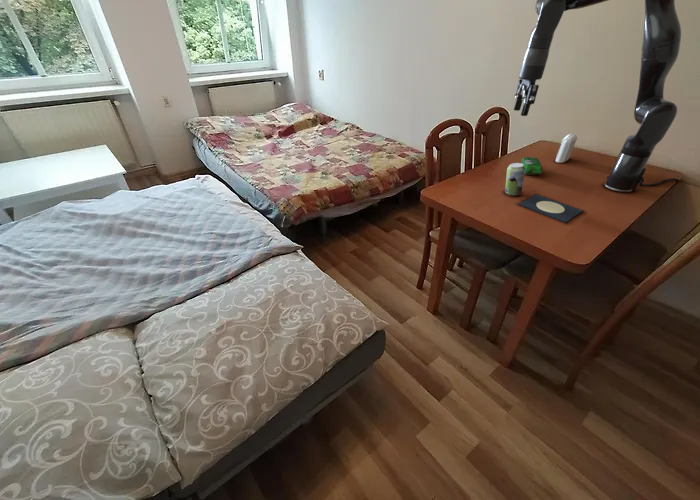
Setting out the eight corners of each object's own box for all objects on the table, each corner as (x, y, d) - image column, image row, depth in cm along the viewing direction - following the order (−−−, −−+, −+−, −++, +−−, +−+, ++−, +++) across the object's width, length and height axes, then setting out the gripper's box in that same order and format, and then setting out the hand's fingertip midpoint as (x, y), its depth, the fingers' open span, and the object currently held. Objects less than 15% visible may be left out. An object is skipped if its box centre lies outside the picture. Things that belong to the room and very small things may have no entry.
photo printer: (560, 156, 163) (570, 131, 155) (570, 158, 160) (580, 132, 153) (553, 161, 157) (562, 135, 150) (563, 164, 154) (573, 137, 147)
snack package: (523, 177, 142) (527, 166, 139) (518, 164, 154) (521, 154, 151) (541, 179, 140) (545, 168, 137) (534, 166, 152) (538, 155, 149)
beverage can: (522, 197, 126) (531, 168, 119) (502, 196, 128) (510, 166, 121) (518, 190, 131) (527, 162, 124) (499, 189, 133) (507, 160, 126)
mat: (518, 204, 122) (518, 203, 121) (536, 195, 128) (536, 194, 128) (565, 223, 111) (565, 221, 110) (582, 211, 117) (583, 210, 117)
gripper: (553, 65, 106) (537, 117, 115) (537, 61, 118) (524, 108, 127) (529, 65, 107) (515, 117, 116) (516, 61, 118) (504, 108, 128)
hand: (520, 112), depth 122 cm, fingers open, 8 cm apart
